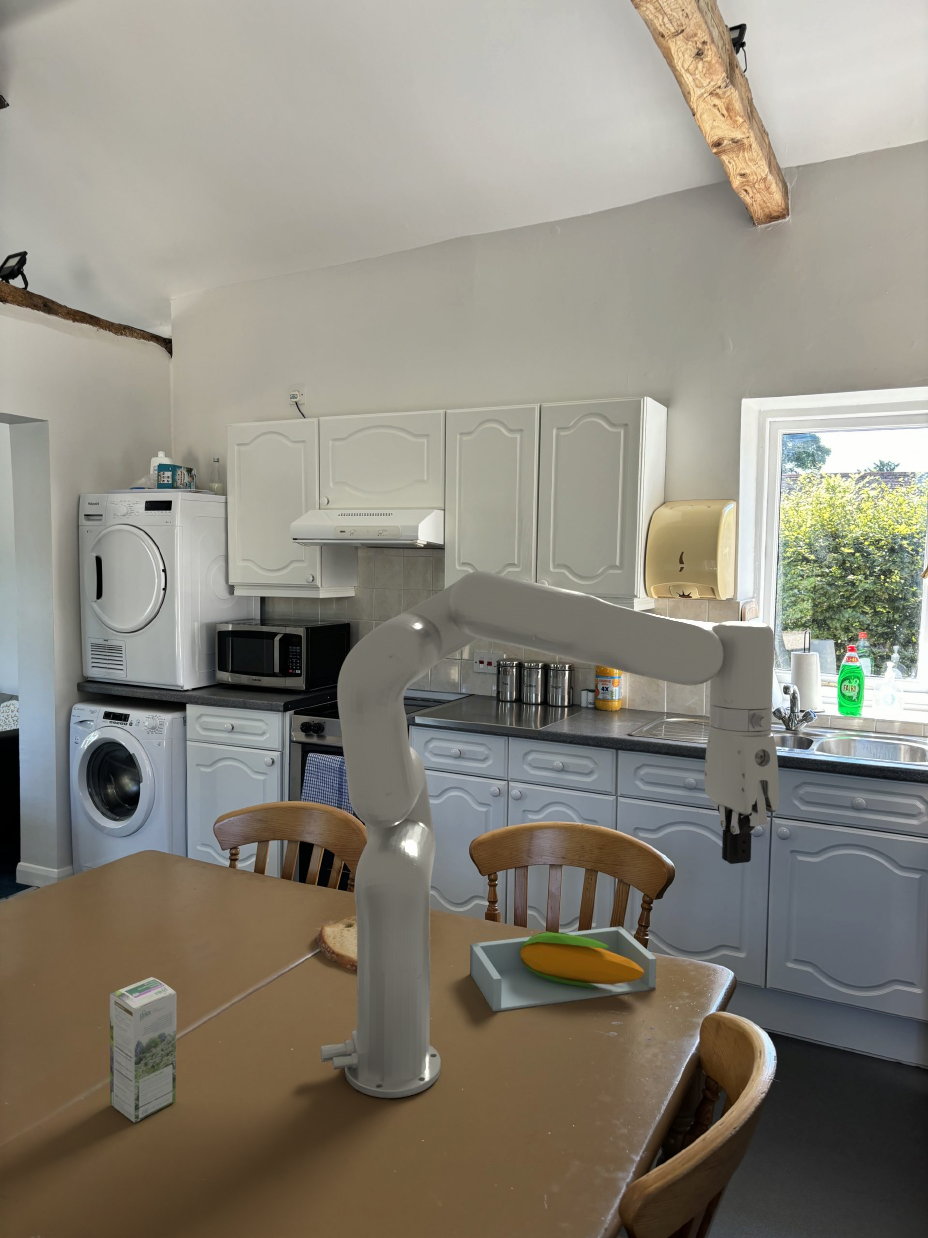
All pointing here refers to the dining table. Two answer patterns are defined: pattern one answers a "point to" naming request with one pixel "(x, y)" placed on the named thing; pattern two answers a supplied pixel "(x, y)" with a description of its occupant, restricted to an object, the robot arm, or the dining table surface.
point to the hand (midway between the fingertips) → (736, 860)
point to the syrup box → (142, 1048)
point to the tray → (520, 987)
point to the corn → (576, 960)
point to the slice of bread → (340, 942)
